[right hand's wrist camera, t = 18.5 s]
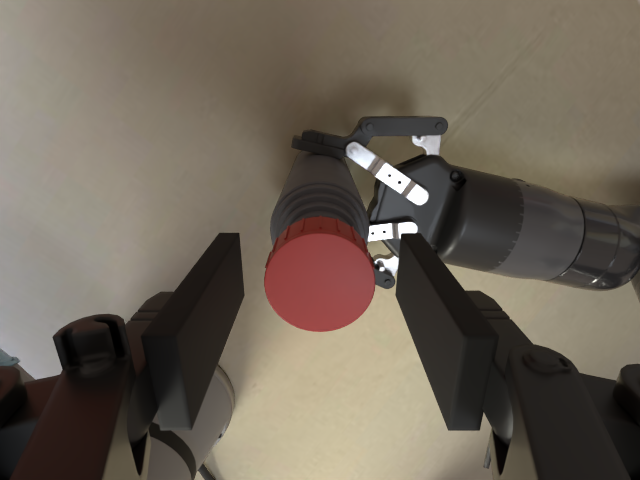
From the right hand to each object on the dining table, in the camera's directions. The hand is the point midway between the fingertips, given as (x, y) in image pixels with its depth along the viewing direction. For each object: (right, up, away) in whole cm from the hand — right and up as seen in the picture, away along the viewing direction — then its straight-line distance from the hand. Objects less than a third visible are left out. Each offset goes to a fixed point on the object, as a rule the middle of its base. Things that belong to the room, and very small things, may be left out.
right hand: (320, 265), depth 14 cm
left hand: (-2, +6, +13) cm, 15 cm away
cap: (0, -1, -1) cm, 1 cm away
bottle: (0, +7, +19) cm, 21 cm away
